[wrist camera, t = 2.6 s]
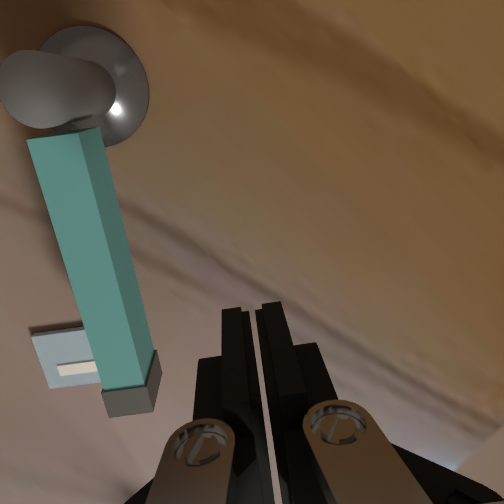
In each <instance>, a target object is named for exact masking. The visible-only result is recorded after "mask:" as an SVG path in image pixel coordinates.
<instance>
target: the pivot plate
mask: <svg viewBox="0 0 504 504" xmlns="http://www.w3.org/2000/svg"><path fill="white" fill-rule="evenodd" d="M39 51H41V52H46V53H52V54H57V55H62V56H67V57H72V58H78V59H83V60H88V61H93V62H95V63H98V64H100V65H101V66H102V67H104V68H105V69H106V70H107V71H108V72H109V74H110V75H111V77H112V78H113V81H114V83H115V87H116V98H115V102H114V104H113V106H112V108H111V109H110V110H109V111H108V112H107V113H106V114H104V115H102V116H99V117H95V118H90V119H86V120H81V121H77V122H73V123H68V124H64V125H59V126H55V127H53V128H54V129H55V130H56V131H57V132H62V131H70V130H77V129H85V128H93V127H100V131H101V135H102V139H103V143H104V147H108V146H113V145H115V144H118V143H120V142H122V141H124V140H126V139H127V138H129V137H130V136H131V135H132V134H133V133H134V132H135V131H136V130H137V129H138V128H139V127H140V125H141V123H142V122H143V120H144V118H145V115H146V113H147V109H148V104H149V86H148V80H147V76H146V73H145V71H144V68H143V66H142V64H141V62H140V60H139V58H138V57H137V56H136V54H135V53H134V51H133V50H132V49H131V48H130V47H129V46H128V45H127V44H126V43H125V42H124V41H123V40H121V39H120V38H118V37H117V36H115V35H114V34H112V33H110V32H108V31H106V30H103V29H100V28H97V27H92V26H73V27H68V28H65V29H63V30H60V31H58V32H57V33H55V34H53V35H52V36H51V37H50V38H48V39H47V40H46V42H45V43H44V44H43V45H42V46H41V48H40V49H39Z"/></svg>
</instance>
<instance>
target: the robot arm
mask: <svg viewBox="0 0 504 504" xmlns="http://www.w3.org/2000/svg"><path fill="white" fill-rule="evenodd" d="M255 314H256V322H257V329H258V336H259V344H260V351H261V359H262V366H263V374H264V381H265V388H266V396H267V403H268V409H269V416H270V423H271V429H272V436H273V443H274V450H275V456H276V463H277V470H278V477H279V483H280V490H281V497H282V503H283V504H504V498H502V497H501V496H500V495H498V494H497V493H496V492H494V491H493V490H491V489H489V488H488V487H486V486H484V485H482V484H480V483H478V482H475V481H473V480H471V479H469V478H467V477H465V476H462V475H460V474H458V473H456V472H454V471H451V470H449V469H447V468H445V467H443V466H440V465H438V464H436V463H434V462H432V461H429V460H427V459H425V458H423V457H421V456H418V455H416V454H414V453H412V452H409V451H407V450H405V449H403V448H401V447H398V446H396V445H394V444H392V443H390V442H389V440H388V439H387V438H386V436H385V435H384V433H383V432H382V430H381V429H380V428H379V426H378V425H377V423H376V422H375V421H374V419H373V418H372V416H371V415H370V414H369V413H368V412H367V411H366V410H365V409H364V408H363V407H361V406H359V405H357V404H356V403H353V402H349V401H346V400H338V397H337V395H336V392H335V389H334V387H333V384H332V382H331V379H330V376H329V374H328V371H327V369H326V366H325V364H324V361H323V358H322V356H321V353H320V351H319V348H318V346H317V344H316V343H315V342H314V343H307V344H300V345H293V342H292V339H291V335H290V332H289V328H288V325H287V321H286V318H285V315H284V311H283V308H282V304H281V301H279V302H272V303H265V304H262V309H258V310H255ZM124 504H275V501H274V494H273V486H272V478H271V470H270V463H269V455H268V447H267V440H266V432H265V424H264V416H263V409H262V401H261V394H260V386H259V379H258V372H257V365H256V358H255V351H254V344H253V336H252V329H251V322H250V315H249V311H244V312H242V311H241V307H237V308H229V309H222V356H216V357H209V358H202V359H199V361H198V369H197V380H196V390H195V401H194V412H193V421H192V422H189V423H186V424H185V425H183V426H182V427H180V428H178V429H177V430H176V431H175V432H174V433H173V434H172V435H171V436H170V438H169V440H168V441H167V443H166V445H165V448H164V451H163V454H162V457H161V460H160V462H159V465H158V468H157V471H156V474H155V477H154V478H153V479H152V480H151V481H150V482H148V483H147V484H146V485H145V486H144V487H143V488H141V489H140V490H139V491H138V492H137V493H136V494H134V495H133V496H132V497H131V498H130V499H129V500H127V501H126V502H125V503H124Z"/></svg>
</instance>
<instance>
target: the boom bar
mask: <svg viewBox="0 0 504 504" xmlns="http://www.w3.org/2000/svg"><path fill="white" fill-rule="evenodd" d="M115 98H116V87H115V83H114V81H113V78H112V77H111V75H110V74H109V72H108V71H107V70H106V69H105V68H104V67H102V66H101V65H100V64H98V63H95V62H93V61H88V60H83V59H78V58H72V57H67V56H62V55H57V54H52V53H46V52H41V51H36V50H21V51H17V52H14V53H12V54H11V55H9V56H8V57H7V58H6V59H5V60H4V61H3V62H2V64H1V65H0V100H1V102H2V104H3V106H4V107H5V109H6V110H7V111H8V113H9V114H10V115H11V116H12V117H13V118H15V119H16V120H17V121H19V122H21V123H22V124H24V125H26V126H29V127H33V128H40V129H43V128H50V127H55V126H59V125H64V124H68V123H73V122H77V121H81V120H86V119H90V118H95V117H99V116H102V115H104V114H106V113H107V112H108V111H109V110H110V109H111V108H112V106H113V104H114V102H115ZM27 144H28V147H29V150H30V153H31V157H32V160H33V163H34V166H35V170H36V173H37V176H38V179H39V183H40V186H41V189H42V192H43V195H44V199H45V202H46V205H47V208H48V212H49V215H50V218H51V221H52V225H53V228H54V231H55V234H56V238H57V241H58V244H59V247H60V250H61V254H62V257H63V260H64V263H65V267H66V270H67V273H68V276H69V280H70V283H71V286H72V289H73V293H74V296H75V299H76V302H77V305H78V309H79V312H80V315H81V318H82V322H83V325H84V328H85V331H86V335H87V338H88V341H89V344H90V347H91V351H92V354H93V357H94V360H95V364H96V367H97V370H98V373H99V377H100V380H101V383H102V386H103V389H102V392H101V394H102V397H103V401H104V404H105V407H106V410H107V413H108V417H109V418H112V417H119V416H127V415H134V414H142V413H149V412H153V410H154V406H155V402H156V398H157V393H158V389H159V385H160V380H161V376H162V370H161V366H160V361H159V357H158V353H157V350H154V348H153V344H152V340H151V335H150V331H149V327H148V323H147V319H146V315H145V311H144V307H143V303H142V299H141V295H140V290H139V286H138V282H137V278H136V274H135V270H134V266H133V262H132V258H131V254H130V249H129V245H128V241H127V237H126V233H125V229H124V225H123V221H122V217H121V213H120V209H119V204H118V200H117V196H116V192H115V188H114V184H113V180H112V176H111V172H110V168H109V164H108V159H107V155H106V151H105V147H104V143H103V139H102V135H101V131H100V127H93V128H85V129H77V130H70V131H62V132H55V133H51V134H47V135H43V136H39V137H35V138H32V139H28V140H27Z"/></svg>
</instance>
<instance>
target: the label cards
mask: <svg viewBox="0 0 504 504" xmlns="http://www.w3.org/2000/svg"><path fill="white" fill-rule="evenodd" d="M31 339H32V342H33V344H34V347H35V350H36V352H37V355H38V358H39V361H40V363H41V366H42V369H43V372H44V374H45V377H46V380H47V382H48V385H49V388H50V389H53V388H61V387H68V386H76V385H83V384H91V383H98V382H101V380H100V377H99V373H98V370H97V367H96V364H95V360H94V357H93V354H92V351H91V347H90V344H89V341H88V338H87V335H86V331H85V328H84V327H77V328H69V329H62V330H54V331H46V332H39V333H34V334H33V335H32V336H31Z"/></svg>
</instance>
